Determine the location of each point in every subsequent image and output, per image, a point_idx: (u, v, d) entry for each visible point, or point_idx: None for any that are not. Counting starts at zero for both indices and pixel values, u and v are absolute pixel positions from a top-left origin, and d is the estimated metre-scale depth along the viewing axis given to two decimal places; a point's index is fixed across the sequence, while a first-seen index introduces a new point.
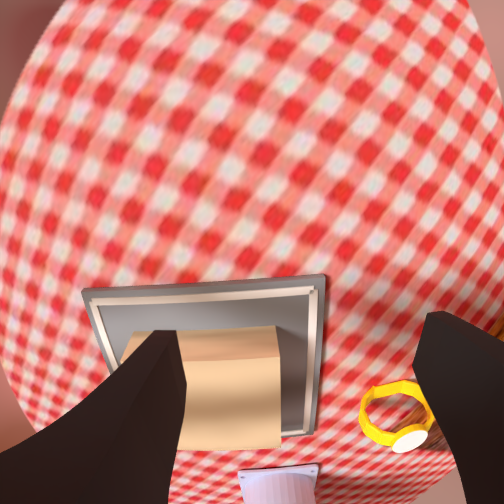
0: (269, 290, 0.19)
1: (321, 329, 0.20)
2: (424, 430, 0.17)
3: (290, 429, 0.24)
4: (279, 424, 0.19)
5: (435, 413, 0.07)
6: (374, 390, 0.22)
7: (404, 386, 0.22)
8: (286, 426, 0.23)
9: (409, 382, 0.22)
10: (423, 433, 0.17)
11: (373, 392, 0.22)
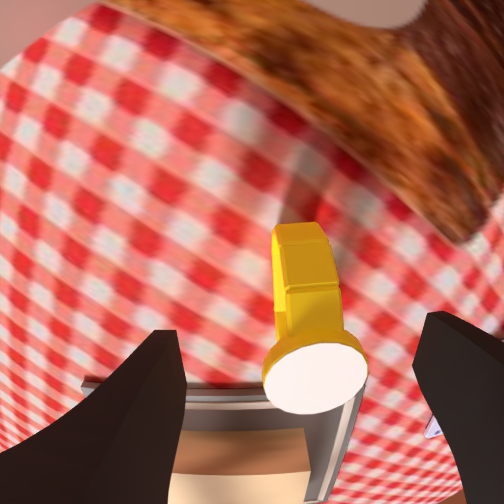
0: None
1: None
2: (277, 360, 0.07)
3: (338, 412, 0.15)
4: (251, 476, 0.13)
5: (435, 413, 0.07)
6: (279, 312, 0.13)
7: None
8: (329, 417, 0.16)
9: (272, 244, 0.12)
10: (290, 361, 0.07)
11: (283, 314, 0.13)
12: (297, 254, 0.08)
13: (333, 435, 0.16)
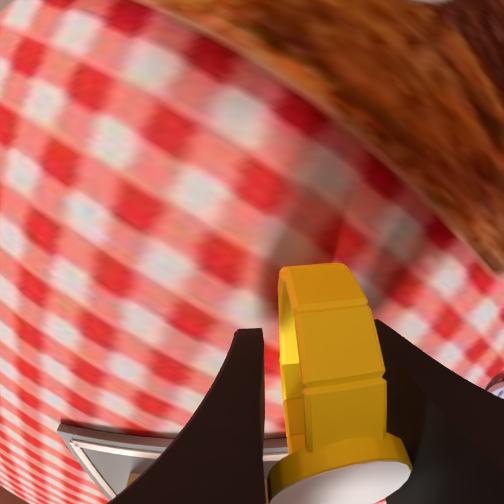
0: (89, 468, 0.13)
1: (123, 444, 0.12)
2: (289, 483, 0.04)
3: None
4: None
5: None
6: (286, 365, 0.10)
7: None
8: None
9: (279, 286, 0.09)
10: (308, 484, 0.04)
11: (291, 367, 0.10)
12: (323, 327, 0.05)
13: None
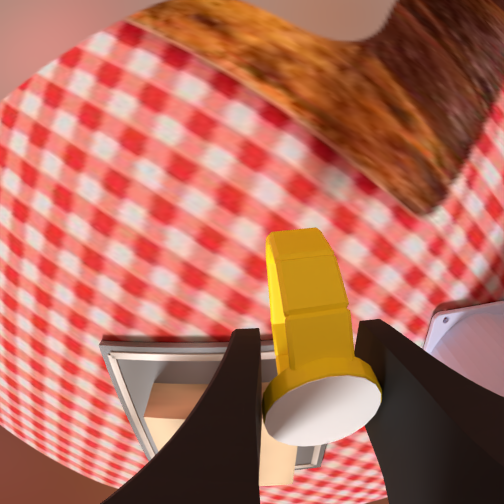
0: (119, 384, 0.19)
1: (153, 348, 0.18)
2: (278, 397, 0.06)
3: None
4: None
5: (368, 429, 0.07)
6: (276, 324, 0.12)
7: None
8: None
9: (266, 252, 0.11)
10: (293, 397, 0.06)
11: (281, 326, 0.12)
12: (297, 270, 0.07)
13: None
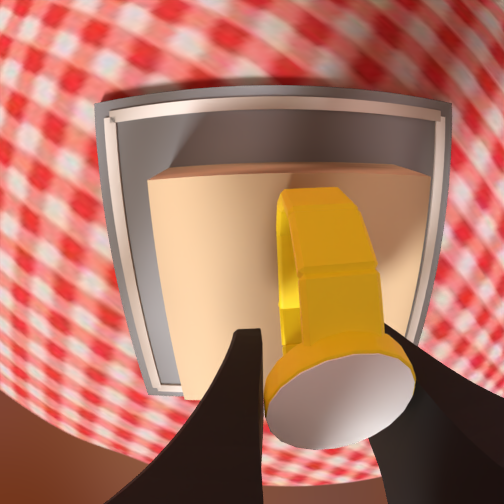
0: (110, 180, 0.12)
1: (181, 92, 0.11)
2: (286, 381, 0.05)
3: (430, 143, 0.12)
4: (350, 176, 0.09)
5: None
6: (285, 309, 0.11)
7: None
8: (421, 150, 0.12)
9: (277, 222, 0.09)
10: (306, 382, 0.05)
11: (290, 312, 0.11)
12: (315, 223, 0.06)
13: None
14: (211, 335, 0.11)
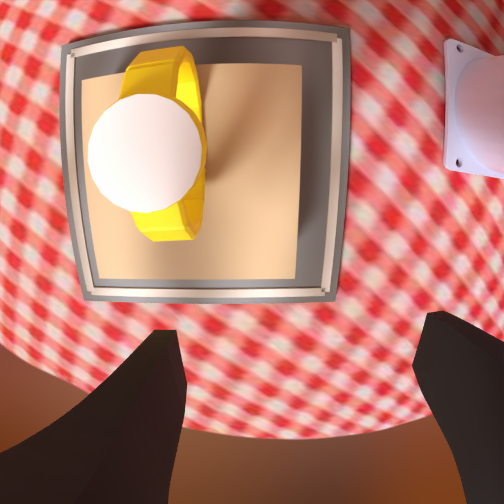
0: (66, 99, 0.13)
1: (121, 32, 0.12)
2: (98, 121, 0.06)
3: (328, 59, 0.13)
4: (225, 65, 0.11)
5: (435, 413, 0.07)
6: None
7: None
8: (318, 65, 0.14)
9: None
10: (109, 120, 0.06)
11: None
12: (149, 53, 0.07)
13: (328, 101, 0.14)
14: None
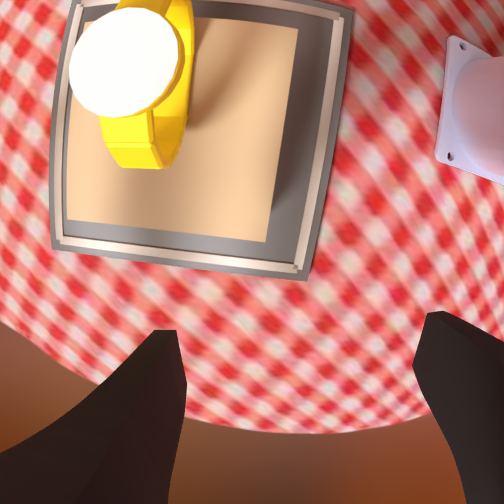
0: (68, 45, 0.12)
1: None
2: (87, 30, 0.05)
3: (327, 35, 0.13)
4: (223, 21, 0.10)
5: (435, 413, 0.07)
6: (155, 116, 0.11)
7: None
8: (317, 39, 0.13)
9: None
10: (97, 29, 0.05)
11: (158, 118, 0.11)
12: None
13: (323, 74, 0.14)
14: (97, 143, 0.12)
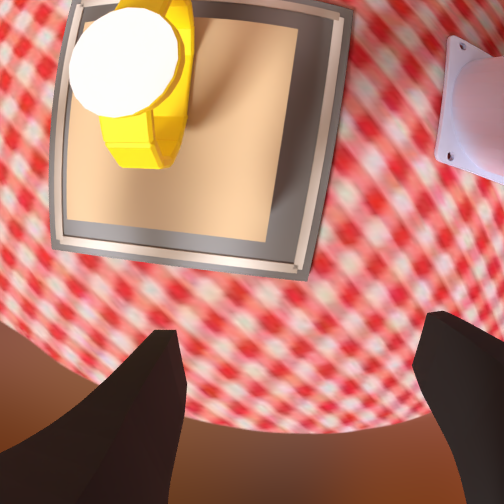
0: (68, 45, 0.12)
1: None
2: (87, 30, 0.05)
3: (327, 35, 0.13)
4: (223, 21, 0.10)
5: (435, 413, 0.07)
6: (155, 116, 0.11)
7: None
8: (317, 39, 0.13)
9: None
10: (97, 29, 0.05)
11: (158, 118, 0.11)
12: None
13: (323, 74, 0.14)
14: (97, 143, 0.12)
